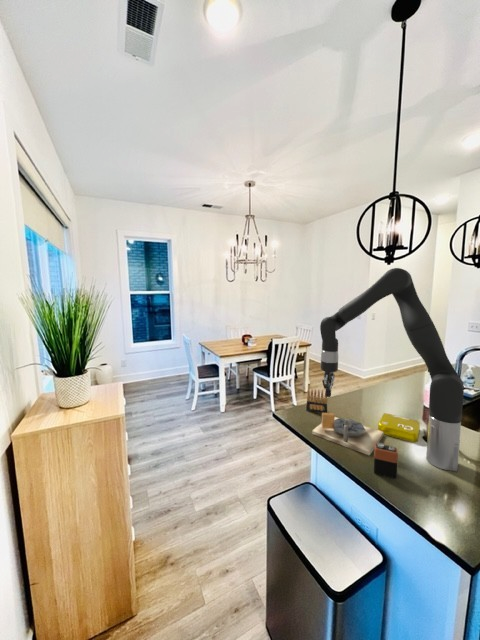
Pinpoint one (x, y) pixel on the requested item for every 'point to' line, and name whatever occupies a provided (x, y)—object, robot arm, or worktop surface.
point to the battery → (385, 460)
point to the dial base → (351, 437)
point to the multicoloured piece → (341, 425)
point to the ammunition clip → (316, 402)
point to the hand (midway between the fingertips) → (328, 396)
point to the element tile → (399, 427)
